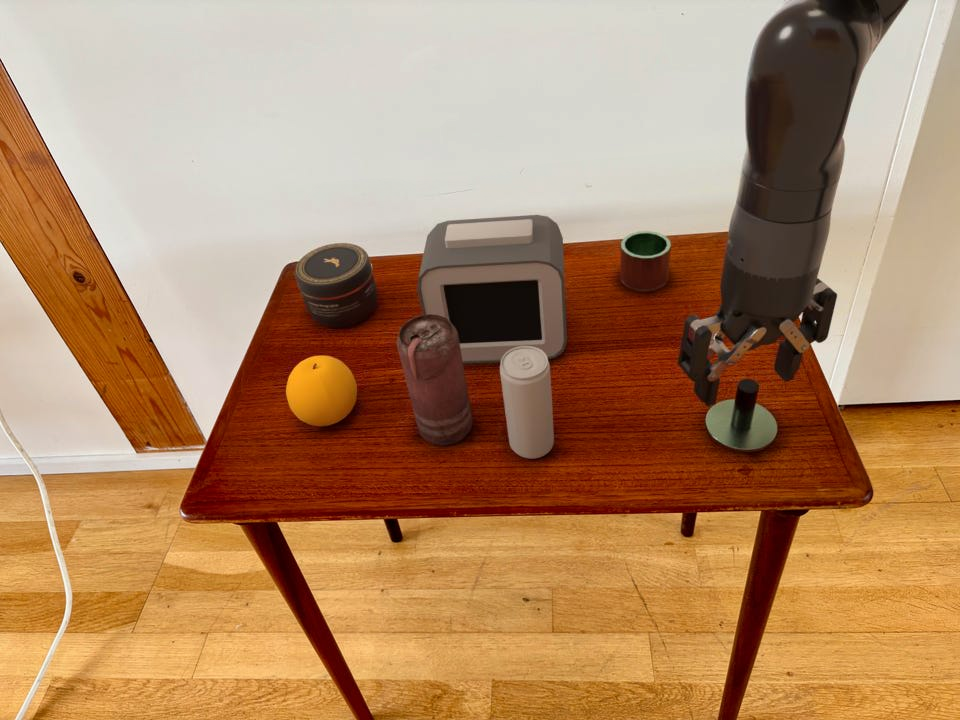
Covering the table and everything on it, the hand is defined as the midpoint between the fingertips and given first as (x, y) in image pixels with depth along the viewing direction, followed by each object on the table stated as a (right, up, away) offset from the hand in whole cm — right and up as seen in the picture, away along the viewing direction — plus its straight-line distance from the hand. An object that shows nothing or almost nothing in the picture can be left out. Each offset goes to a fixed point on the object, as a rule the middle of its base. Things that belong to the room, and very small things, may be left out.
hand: (745, 387), depth 70 cm
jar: (-44, +10, +28) cm, 53 cm away
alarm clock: (-23, +6, +20) cm, 32 cm away
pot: (-4, +14, +25) cm, 29 cm away
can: (-30, -5, +9) cm, 32 cm away
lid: (+1, -4, +4) cm, 6 cm away
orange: (-43, -4, +13) cm, 46 cm away
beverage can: (-20, -6, +6) cm, 22 cm away
